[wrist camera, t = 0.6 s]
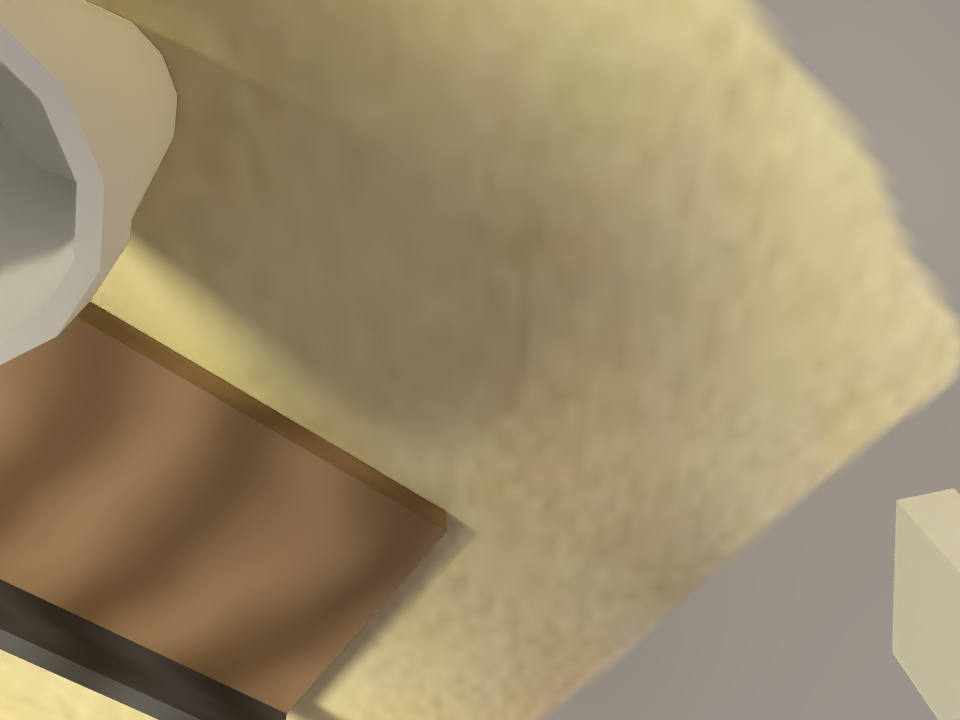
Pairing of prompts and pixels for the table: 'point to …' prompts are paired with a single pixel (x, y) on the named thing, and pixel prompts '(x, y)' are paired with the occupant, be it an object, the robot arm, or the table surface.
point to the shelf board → (183, 531)
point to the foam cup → (71, 156)
